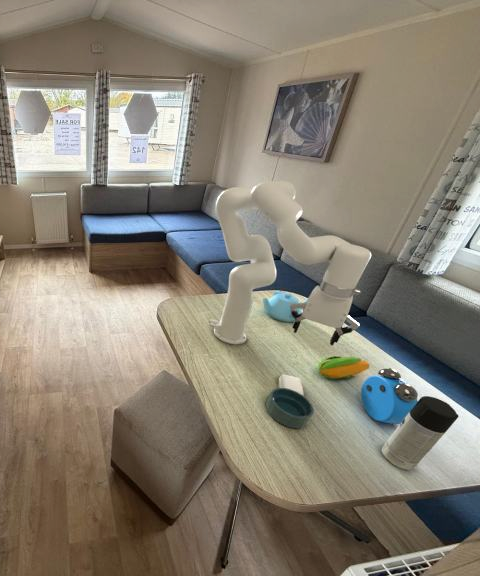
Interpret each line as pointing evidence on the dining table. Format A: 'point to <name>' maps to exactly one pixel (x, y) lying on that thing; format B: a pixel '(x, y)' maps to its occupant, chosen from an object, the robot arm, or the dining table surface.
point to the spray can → (419, 432)
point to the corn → (342, 367)
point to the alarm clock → (388, 397)
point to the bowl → (289, 408)
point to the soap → (291, 383)
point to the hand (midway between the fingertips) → (312, 336)
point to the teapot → (281, 306)
